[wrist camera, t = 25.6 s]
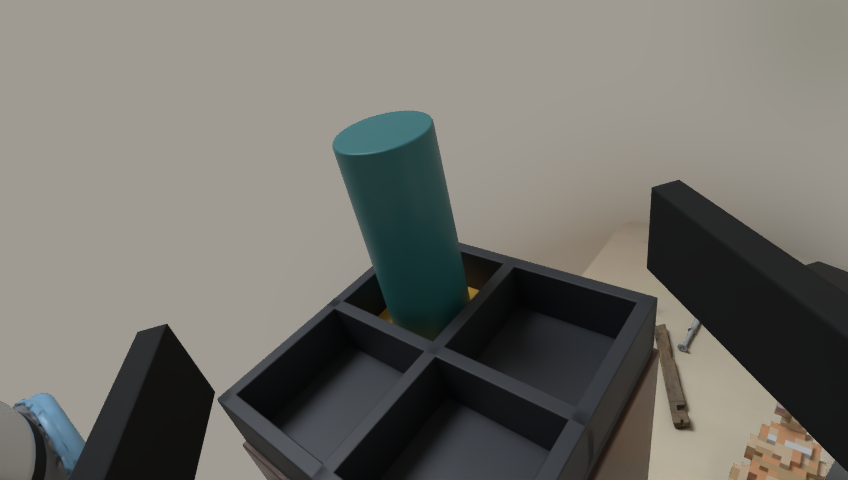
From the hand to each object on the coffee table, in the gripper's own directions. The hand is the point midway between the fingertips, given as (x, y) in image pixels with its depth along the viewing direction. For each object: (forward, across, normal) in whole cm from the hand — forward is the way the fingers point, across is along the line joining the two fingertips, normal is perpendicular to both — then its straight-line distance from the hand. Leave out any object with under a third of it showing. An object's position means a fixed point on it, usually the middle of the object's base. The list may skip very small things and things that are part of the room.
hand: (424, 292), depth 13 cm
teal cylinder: (+8, 0, -8) cm, 11 cm away
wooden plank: (+18, +24, -35) cm, 46 cm away
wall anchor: (+25, +28, -36) cm, 52 cm away
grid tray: (+4, 0, -9) cm, 10 cm away
